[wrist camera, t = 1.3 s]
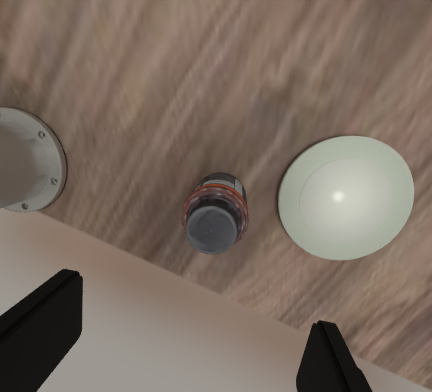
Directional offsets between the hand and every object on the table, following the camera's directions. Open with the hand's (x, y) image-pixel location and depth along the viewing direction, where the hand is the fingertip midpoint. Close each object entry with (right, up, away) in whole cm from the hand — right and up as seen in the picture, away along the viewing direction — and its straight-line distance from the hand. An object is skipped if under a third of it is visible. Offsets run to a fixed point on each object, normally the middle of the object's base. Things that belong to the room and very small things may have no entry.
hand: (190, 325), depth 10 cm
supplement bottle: (+2, +5, +20) cm, 21 cm away
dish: (+15, +5, +19) cm, 25 cm away
